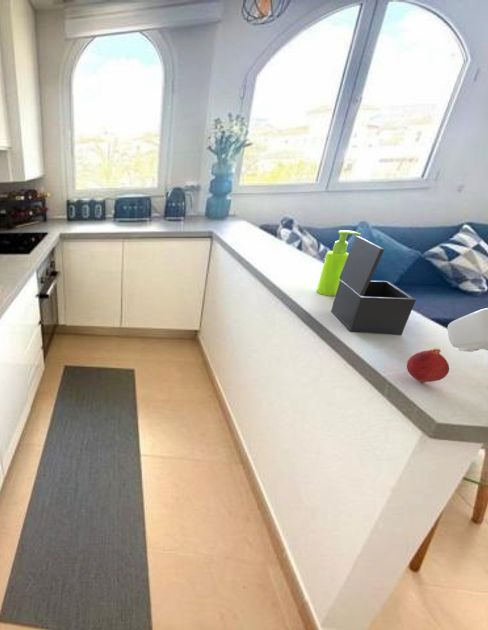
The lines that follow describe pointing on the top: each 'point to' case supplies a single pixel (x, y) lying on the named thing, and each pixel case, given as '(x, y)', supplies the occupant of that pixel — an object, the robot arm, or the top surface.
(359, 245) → the box lid
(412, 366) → the onion
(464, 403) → the top surface
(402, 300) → the grey box
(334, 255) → the soap dispenser
